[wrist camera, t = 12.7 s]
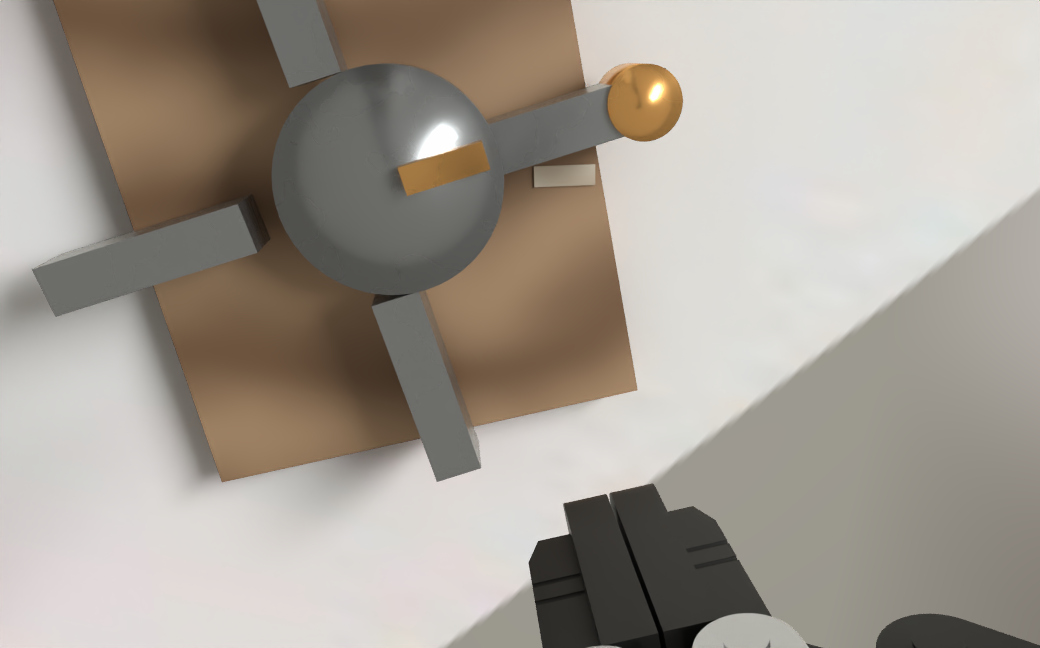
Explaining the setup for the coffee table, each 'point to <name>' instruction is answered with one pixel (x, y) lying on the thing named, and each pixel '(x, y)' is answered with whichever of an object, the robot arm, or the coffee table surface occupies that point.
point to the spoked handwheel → (379, 198)
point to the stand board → (306, 290)
